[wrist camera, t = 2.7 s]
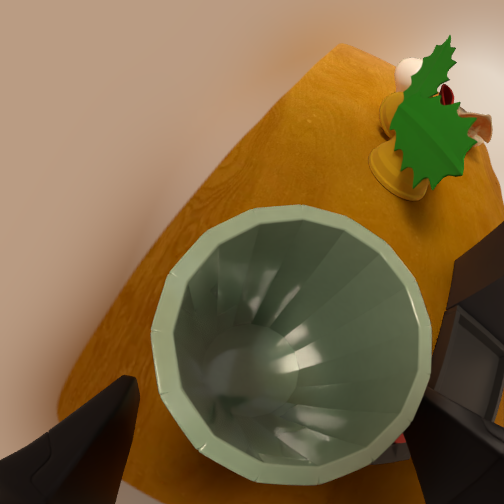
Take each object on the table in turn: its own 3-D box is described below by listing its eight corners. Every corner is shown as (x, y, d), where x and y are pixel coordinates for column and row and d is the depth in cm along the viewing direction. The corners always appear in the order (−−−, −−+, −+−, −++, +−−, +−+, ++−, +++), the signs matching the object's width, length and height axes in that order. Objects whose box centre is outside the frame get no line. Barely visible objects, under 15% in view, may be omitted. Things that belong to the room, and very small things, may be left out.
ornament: (399, 248, 28) (517, 232, 14) (343, 214, 26) (474, 170, 12) (415, 119, 32) (490, 78, 17) (372, 84, 30) (446, 27, 15)
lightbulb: (383, 102, 36) (409, 48, 26) (416, 125, 34) (446, 73, 24) (370, 112, 33) (399, 50, 23) (407, 138, 31) (442, 77, 22)
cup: (293, 429, 15) (416, 473, 4) (184, 409, 14) (121, 450, 4) (309, 330, 18) (424, 239, 7) (208, 309, 18) (201, 181, 7)
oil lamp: (438, 143, 33) (468, 96, 24) (442, 106, 43) (461, 73, 34) (477, 176, 31) (510, 135, 23) (472, 130, 41) (492, 99, 32)
